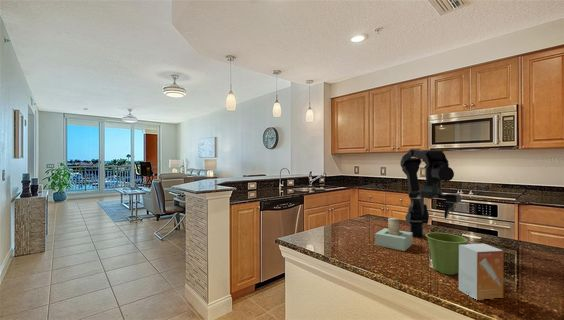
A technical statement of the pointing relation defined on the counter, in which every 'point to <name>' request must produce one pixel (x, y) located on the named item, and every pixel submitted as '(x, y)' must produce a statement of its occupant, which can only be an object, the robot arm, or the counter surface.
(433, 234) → the plant pot
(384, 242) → the socket block
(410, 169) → the robot arm
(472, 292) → the small box
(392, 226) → the beech peg
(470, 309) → the counter surface
